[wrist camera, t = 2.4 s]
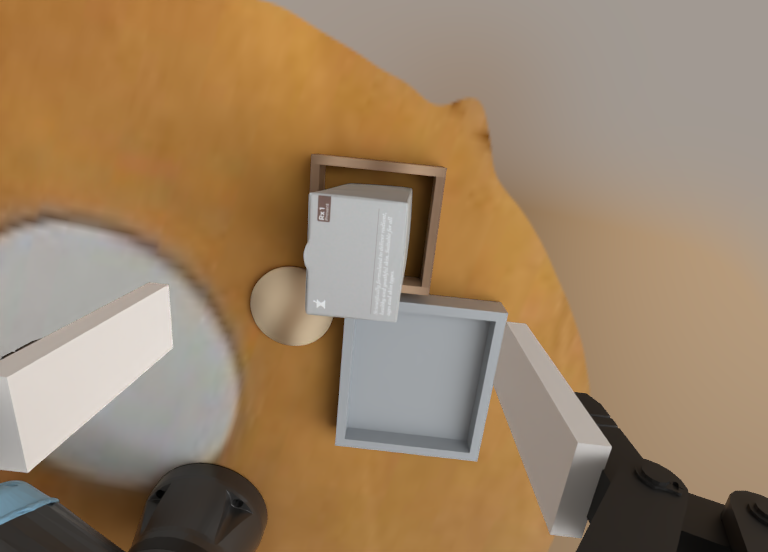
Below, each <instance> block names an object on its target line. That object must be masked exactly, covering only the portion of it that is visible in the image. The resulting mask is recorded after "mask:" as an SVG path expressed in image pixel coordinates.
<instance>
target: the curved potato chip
mask: <svg viewBox="0 0 768 552" xmlns="http://www.w3.org/2000/svg"><path fill="white" fill-rule="evenodd" d="M305 293H306V269H303V268H300V267H294V266H286V267H280V268H276V269H274V270H272V271H270V272H268V273H267V274H265V275H264V276H263V277H262V278H261V279H260V280H259V281H258V282H257V284H256V285H255V287H254V289H253V291H252V295H251V301H250V306H251V312H252V316H253V318H254V320H255V322H256V324H257V326H258V327H259V328H260V329H261V331H262V332H263V333H264V334H266V335H267V336H268V337H269V338H271V339H273V340H274V341H276V342H279V343H282V344H285V345H291V346H300V345H306V344H309V343H312V342H314V341H316V340H317V339H319V338H320V337H322V336H323V335H324V334H325V332H326V331H327V330H328V328H329V327H330V325H331V322H332V320H333V317H329V316H319V315H308V314H307V313H306V311H305Z"/></svg>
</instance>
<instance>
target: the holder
mask: <svg viewBox="0 0 768 552" xmlns="http://www.w3.org/2000/svg"><path fill="white" fill-rule="evenodd" d="M326 165H330V166H340V167H350V168H359V169H369V170H378V171H388V172H398V173H407V174H417V175H426V176H434V179H433V186H432V194H431V201H430V209H429V216H428V224H427V231H426V239H425V246H424V254H423V261H422V269H421V276H420V278H418V277H409V276H404V278H403V283H402V289H401V293H408V294H418V295H427V296H429V290H430V283H431V276H432V269H433V262H434V255H435V248H436V241H437V234H438V227H439V220H440V213H441V206H442V199H443V192H444V184H445V177H446V170H447V168H445V167H439V166H430V165H420V164H410V163H401V162H391V161H381V160H372V159H362V158H353V157H343V156H333V155H324V154H311V174H310V193H311V192H317V191H321V190H325V172H326Z"/></svg>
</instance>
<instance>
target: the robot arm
mask: <svg viewBox="0 0 768 552" xmlns="http://www.w3.org/2000/svg"><path fill="white" fill-rule="evenodd" d="M172 348H173V338H172V324H171V310H170V296H169V284H160V283H151V282H149V283H147V284H145V285H143V286H141V287H139V288H138V289H136V290H134V291H132V292H130V293H128V294H126V295H124V296H122V297H120V298H118V299H116V300H115V301H113V302H111V303H109V304H107V305H105V306H103V307H101V308H99V309H97V310H95V311H93V312H92V313H90V314H88V315H86V316H84V317H82V318H80V319H78V320H76V321H74V322H72V323H71V324H69V325H67V326H65V327H63V328H61V329H59V330H57V331H55V332H53V333H51V334H49V335H48V336H46V337H44V338H41V339H38V340H35V341H32V342H30V343H28V344H26V345H24V346H22V347H20V348H19V349H17V350H15V352H11V353H9V354H7V355H5V356H3V357H2V358H1V359H0V470H8V471H16V472H25V473H28V472H29V471H31V470H32V469H33V468H34V467H35V466H36V465H37V464H39V463H40V462H41V461H42V460H43V459H44V458H46V457H47V456H48V455H49V454H50V453H51V452H53V451H54V450H55V449H56V448H57V447H58V446H60V445H61V444H62V443H63V442H64V441H65V440H67V439H68V438H69V437H70V436H71V435H72V434H74V433H75V432H76V431H77V430H78V429H79V428H81V427H82V426H83V425H84V424H85V423H86V422H87V421H89V420H90V419H91V418H92V417H93V416H94V415H96V414H97V413H98V412H99V411H100V410H101V409H103V408H104V407H105V406H106V405H107V404H108V403H110V402H111V401H112V400H113V399H114V398H115V397H117V396H118V395H119V394H120V393H121V392H122V391H124V390H125V389H126V388H127V387H128V386H129V385H130V384H132V383H133V382H134V381H135V380H136V379H137V378H139V377H140V376H141V375H142V374H143V373H144V372H146V371H147V370H148V369H149V368H150V367H151V366H153V365H154V364H155V363H156V362H157V361H158V360H160V359H161V358H162V357H163V356H164V355H165V354H167V353H168V352H169V351H170V350H171V349H172ZM493 385H494V388H495V390H496V393H497V396H498V398H499V401H500V404H501V406H502V409H503V412H504V414H505V417H506V419H507V422H508V425H509V427H510V430H511V433H512V435H513V438H514V440H515V443H516V446H517V448H518V451H519V454H520V456H521V459H522V462H523V464H524V467H525V469H526V472H527V475H528V477H529V480H530V483H531V485H532V488H533V490H534V493H535V496H536V498H537V501H538V504H539V506H540V509H541V511H542V514H543V517H544V519H545V522H546V525H547V527H548V530H549V533H550V535H558V536H567V537H575V538H582V535H583V532H584V529H585V526H586V523H587V520H589V522H590V525H589V527H588V529H587V531H586V533H585V535H584V537H583V539H582V541H581V543H580V545H579V547H578V549H577V551H576V552H768V498H766V497H764V496H762V495H759V494H756V493H752V492H748V491H734V492H733V493H731V494H730V495H729V498H728V500H727V502H726V504H725V505H723V504H720V503H717V502H714V501H711V500H708V499H705V498H702V497H699V496H696V495H693V494H690V493H688V489H687V488H686V486H685V485H684V483H683V482H682V481H681V480H680V479H679V478H678V477H677V476H676V475H675V474H673V473H672V472H671V471H669V470H668V469H666V468H664V467H663V466H661V465H659V464H657V463H654V462H652V461H649V460H646V459H643V458H642V457H641V456H640V454H639V453H638V452H637V450H636V449H635V448H634V446H633V445H632V444H631V443H630V441H629V440H628V439H627V437H626V436H625V435H624V434H623V432H622V431H621V430H620V429H619V428H618V427H617V425H616V423H615V422H614V421H613V419H611V418H610V415H609V414H608V413H607V412H606V410H605V409H604V408H603V406H602V405H601V404H600V403H598V402H597V401H596V400H594V399H593V398H592V397H590V396H589V395H588V394H586V393H578V392H573V390H572V389H571V387H570V386H569V385H568V383H567V382H566V380H565V379H564V377H563V376H562V375H561V373H560V372H559V370H558V369H557V367H556V366H555V365H554V363H553V362H552V360H551V359H550V357H549V356H548V355H547V353H546V352H545V350H544V349H543V347H542V346H541V345H540V343H539V342H538V340H537V339H536V337H535V336H534V335H533V333H532V332H531V330H530V329H529V327H528V326H527V325H526V324H523V323H514V322H506V324H505V329H504V334H503V338H502V343H501V348H500V353H499V357H498V362H497V367H496V372H495V376H494V381H493ZM266 524H267V509H266V505H265V502H264V500H263V498H262V496H261V495H260V493H259V492H258V490H257V489H256V488H255V487H254V486H253V485H252V484H251V483H250V482H249V481H248V480H247V479H245V478H244V477H242V476H241V475H239V474H237V473H236V472H234V471H231V470H229V469H227V468H224V467H221V466H217V465H211V464H189V465H184V466H181V467H178V468H176V469H174V470H172V471H170V472H169V473H167V474H166V475H165V476H164V477H163V478H162V479H161V480H160V481H159V483H158V484H157V485H156V487H155V488H154V489H153V491H152V492H151V494H150V495H149V497H148V499H147V501H146V503H145V506H144V509H143V512H142V515H141V518H140V521H139V525H138V528H137V531H136V534H135V537H134V540H133V543H132V546H131V548H130V549H129V551H128V552H255V551H256V549H257V547H258V546H259V544H260V541H261V539H262V536H263V533H264V530H265V528H266ZM0 552H125V551H123V550H122V549H121V548H120V547H118V546H117V545H115V544H114V543H113V542H111V541H110V540H108V539H107V538H106V537H104V536H103V535H102V534H100V533H99V532H97V531H96V530H95V529H93V528H92V527H91V526H89V525H88V524H87V523H85V522H84V521H83V520H81V519H80V518H79V517H77V516H76V515H75V514H73V513H72V512H71V511H69V510H68V509H67V508H65V507H64V506H63V505H61V504H60V503H59V500H58V499H57V498H51V497H49V496H47V495H46V494H44V493H42V492H41V491H39V490H38V489H36V488H35V487H33V486H32V485H30V484H28V483H26V482H24V481H17V480H14V481H7V482H3V483H0Z"/></svg>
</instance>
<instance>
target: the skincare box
mask: <svg viewBox="0 0 768 552" xmlns="http://www.w3.org/2000/svg"><path fill="white" fill-rule="evenodd" d="M411 211H412V188H408V187H399V186H386V185H373V184H355V183H349V184H345V185H341V186H338V187H333V188H329V189H326V190H321V191H317V192H311V193H309V208H308V242H307V244H306V246H305V250H304V263H305V266H306V293H305V311H306V313H307V314H308V315H319V316H329V317H341V318H352V319H363V320H375V321H386V322H396V321H397V316H398V309H399V301H400V295H401V289H402V283H403V278H404V272H405V267H406V261H407V253H408V245H409V236H410V225H411Z"/></svg>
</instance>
